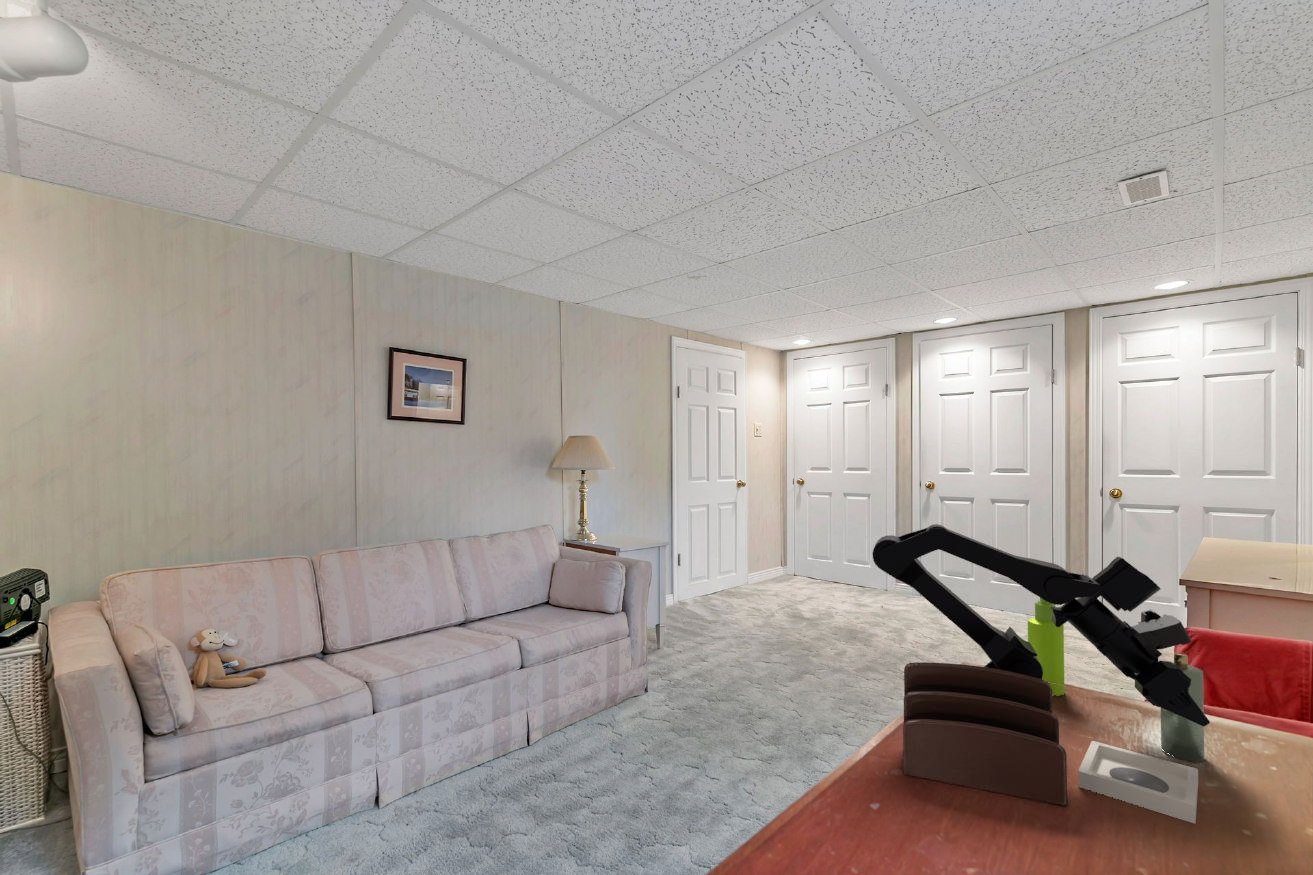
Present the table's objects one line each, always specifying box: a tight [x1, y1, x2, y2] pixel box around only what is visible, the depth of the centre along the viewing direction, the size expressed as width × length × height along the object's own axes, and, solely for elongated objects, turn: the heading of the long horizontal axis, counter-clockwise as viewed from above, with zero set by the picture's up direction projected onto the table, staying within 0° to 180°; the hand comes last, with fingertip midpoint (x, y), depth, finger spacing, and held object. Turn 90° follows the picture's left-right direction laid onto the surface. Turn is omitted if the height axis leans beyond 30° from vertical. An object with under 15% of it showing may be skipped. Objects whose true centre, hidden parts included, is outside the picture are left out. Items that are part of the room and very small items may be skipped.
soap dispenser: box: [1027, 597, 1065, 697], centre depth 117 cm, size 6×7×20 cm
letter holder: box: [902, 662, 1069, 808], centre depth 87 cm, size 10×20×14 cm, turn 66°
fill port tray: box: [1077, 740, 1199, 825], centre depth 83 cm, size 12×12×2 cm
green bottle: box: [1160, 652, 1206, 763], centre depth 92 cm, size 5×5×15 cm
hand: (1193, 711), depth 92 cm, fingers open, 9 cm apart
